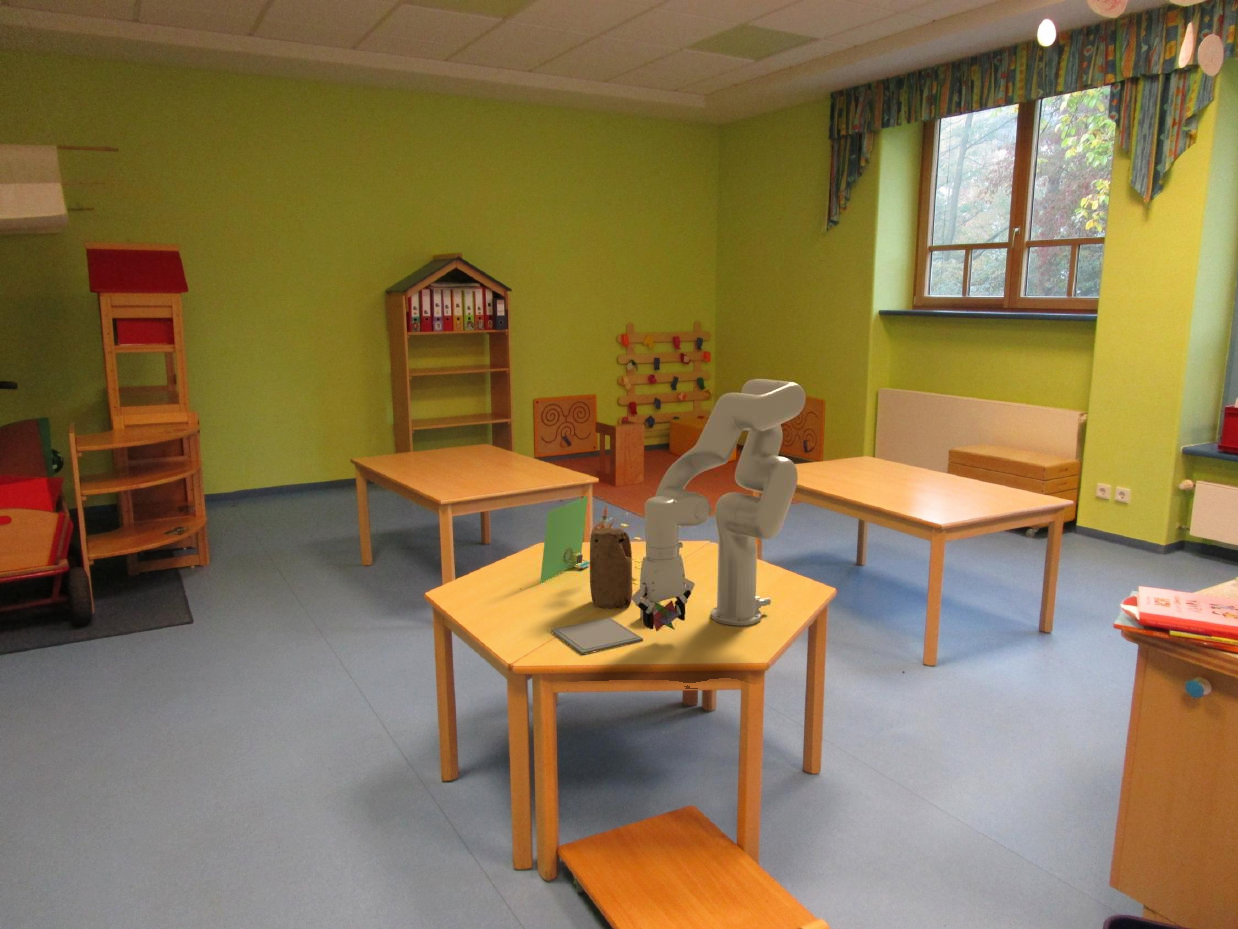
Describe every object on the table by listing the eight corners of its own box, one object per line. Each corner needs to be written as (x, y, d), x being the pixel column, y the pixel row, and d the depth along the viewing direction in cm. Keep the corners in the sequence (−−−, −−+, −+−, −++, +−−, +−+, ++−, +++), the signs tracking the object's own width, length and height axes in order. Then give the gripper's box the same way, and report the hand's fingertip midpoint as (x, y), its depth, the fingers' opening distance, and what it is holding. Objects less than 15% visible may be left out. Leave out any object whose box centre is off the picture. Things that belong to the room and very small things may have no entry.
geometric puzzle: (655, 630, 198) (671, 598, 199) (637, 621, 204) (652, 590, 205) (676, 641, 202) (691, 609, 204) (657, 632, 208) (672, 601, 209)
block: (588, 607, 227) (587, 532, 223) (595, 597, 234) (594, 525, 230) (629, 610, 225) (629, 535, 221) (635, 601, 232) (635, 527, 228)
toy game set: (616, 610, 235) (627, 526, 229) (538, 584, 246) (546, 502, 240) (652, 587, 254) (663, 508, 247) (578, 563, 264) (587, 487, 258)
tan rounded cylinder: (653, 613, 222) (653, 595, 221) (664, 620, 218) (664, 600, 217) (636, 617, 220) (636, 598, 219) (647, 623, 216) (647, 604, 215)
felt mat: (608, 619, 219) (608, 616, 219) (642, 640, 205) (642, 637, 205) (550, 631, 211) (550, 628, 211) (582, 654, 197) (582, 652, 197)
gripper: (684, 539, 208) (686, 609, 211) (621, 554, 199) (624, 626, 203) (703, 547, 201) (704, 619, 205) (638, 562, 193) (641, 637, 197)
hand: (664, 622), depth 204 cm, fingers closed on geometric puzzle, 8 cm apart
